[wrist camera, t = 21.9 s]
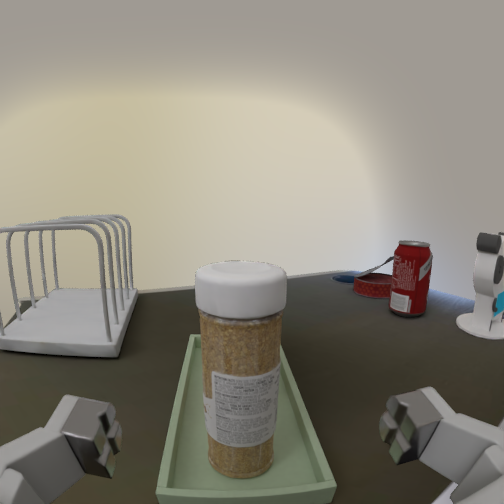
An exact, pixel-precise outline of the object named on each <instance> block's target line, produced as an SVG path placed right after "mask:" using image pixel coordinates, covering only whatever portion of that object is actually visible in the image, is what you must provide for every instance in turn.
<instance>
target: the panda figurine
mask: <svg viewBox="0 0 504 504" xmlns="http://www.w3.org/2000/svg"><path fill="white" fill-rule="evenodd" d="M477 250H478V253H477V256H476V260H475V265H474V273H473V281H474V288H475V291H476V299H475V305H474V311H473V313H467V314H462V315H460V316H458V317H457V319H456V324H457V326H458V327H459V328H460V329H462V330H463V331H465V332H467V333H469V334H471V335H474V336H477V337H481V338H486V339H504V319H503V315H504V233H501V232H500V233H499V234H498V235H496V234H487V233H479V235H478V238H477Z"/></svg>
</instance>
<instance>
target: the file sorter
mask: <svg viewBox="0 0 504 504" xmlns="http://www.w3.org/2000/svg"><path fill="white" fill-rule="evenodd" d="M117 218H120V219H122V220H124V221H125V222H126V224H127V227H128V250H129V251H128V252H129V274H130V288H131V289H128V276H127V261H126V242H125V229H124V226H123V224H122V222H121V221H120V220H119V219H117ZM111 220H113V221H115V222H117V223H118V224H119V226H120V228H121V232H122V248H123V267H124V279H125V289H122V278H121V265H120V250H119V235H118V230H117V227H116V225H115V224H114V223H113V222H112V221H111ZM101 221H103V222H106V223H108V224H110V225H111V226H112V228H113V230H114V233H115V247H116V261H117V273H118V284H119V289H115V285H114V273H113V261H112V246H111V236H110V232H109V230H108V228H107V227H106V226H105V224H104V223H102V222H101ZM85 224H96V225H98V226H100V227H101V228H102V229H103V230H104V232H105V235H106V239H107V253H108V264H109V276H110V287H111V289H106V283H105V269H104V252H103V243H102V239H101V237H100V235H99V234H98V232H97V231H96V230H95V229H94V228H92V227H90V226H88V225H85ZM71 229H72V230H73V229H81V230H86V231H88V232H90V233H91V234H92V235H93V236H94V237H95V239H96V241H97V244H98V252H99V267H100V282H101V289H78V288H59V286H58V279H57V278H58V277H57V268H56V254H55V232H54V231H55V230H71ZM43 230H52V252H53V265H54V276H55V285H56V288H55V289H54V290H52V291H51V292H50V293H48V292H47V286H46V277H45V269H44V259H43V246H42V231H43ZM17 231H26V232H25V236H24V245H25V257H26V266H27V274H28V282H29V289H30V295H31V301H32V306H31V307H30V308H29V309H28V310H27V311H25V312H24V313H23V314H22V315H21V314H20V309H19V304H18V299H17V294H16V288H15V282H14V276H13V268H12V260H11V249H10V240H11V236H12V234H13V233H14V232H17ZM30 231H39V248H40V260H41V270H42V277H43V285H44V292H45V297H43V298H42V299H41V300H39V301H38V302H37V303H35V298H34V292H33V285H32V279H31V271H30V262H29V251H28V234H29V232H30ZM2 232H9V233H8V236H7V240H6V248H7V258H8V267H9V273H10V281H11V287H12V293H13V298H14V304H15V309H16V313H17V319H16V320H14V321H13V322H12V323H11V324H10V325H8V326H7V327H6V328H5V329H3V323H2V318H1V313H0V349H3V350H12V351H21V352H31V353H41V354H54V355H69V356H90V357H118V355H119V352H120V348H121V345H122V342H123V338H124V335H125V332H126V329H127V326H128V323H129V320H130V318H131V315H132V312H133V309H134V306H135V303H136V300H137V298H138V291H137V289H136V288H133V276H132V252H131V226H130V223H129V221H128V220H127V219H126V218H125V217H123V216H122V215H89V216H88V215H87V216H66V217H60V218H58V219H56V220H49V221H38V222H34V223H25V224H19V225H16V226H14V227H3V228H0V233H2Z"/></svg>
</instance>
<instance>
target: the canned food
mask: <svg viewBox="0 0 504 504" xmlns="http://www.w3.org/2000/svg"><path fill="white" fill-rule="evenodd" d="M393 259H394V256H393V257H390V258H389V259H388V260H387V261H386V262H385V263H384V264H386V263H387V262H390V261H391V260H393ZM384 264H382V265H384ZM382 265H380V266H377V267H375V268H373V269H369V270H367V271H365V272H361V273H360V274H356V275H355V279H354V289H353V290H354V292H355V293H357V294H359V295H362V296H366V297H371V298H390V291H391V283H392V275H388V274H382V273H371V272H373V271H374V270H376V269H378V268H379V267H381V266H382Z"/></svg>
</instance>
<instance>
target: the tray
mask: <svg viewBox="0 0 504 504" xmlns="http://www.w3.org/2000/svg"><path fill="white" fill-rule="evenodd" d="M201 354H202V351H201V335H190V339H189V343H188V347H187V351H186V355H185V359H184V363H183V368H182V372H181V376H180V380H179V385H178V389H177V393H176V398H175V402H174V406H173V411H172V415H171V420H170V425H169V429H168V434H167V438H166V443H165V448H164V453H163V458H162V463H161V468H160V473H159V478H158V483H157V488H156V496H157V499H158V501H159V504H326V503H331V502H332V498H333V496H334V493H335V490H336V488H337V484H336V482H335V480H334V477H333V475H332V472H331V470H330V467H329V465H328V462H327V460H326V457H325V455H324V452H323V450H322V447H321V445H320V442H319V440H318V437H317V435H316V432H315V430H314V427H313V425H312V422H311V420H310V417H309V415H308V412H307V410H306V407H305V405H304V402H303V400H302V397H301V395H300V392H299V390H298V387H297V385H296V382H295V380H294V377H293V375H292V372H291V370H290V367H289V365H288V362H287V359H286V357H285V354H284V352H283V349H282V347H281V344H280V357H281V365H280V378H279V392H278V406H277V420H276V429H275V432H274V437H273V450H274V460H273V463H272V465H271V466H270V467H269V469H268V470H266V471H265V472H264V473H262V474H261V475H259V476H257V477H252V478H244V479H241V478H230V477H228V476H225V475H223V474H221V473H219V472H218V471H216V470H215V469H214V468H213V467H212V465H211V464H210V463H209V459H208V449H209V445H208V434H207V429H206V426H205V415H204V401H203V382H202V355H201Z"/></svg>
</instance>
